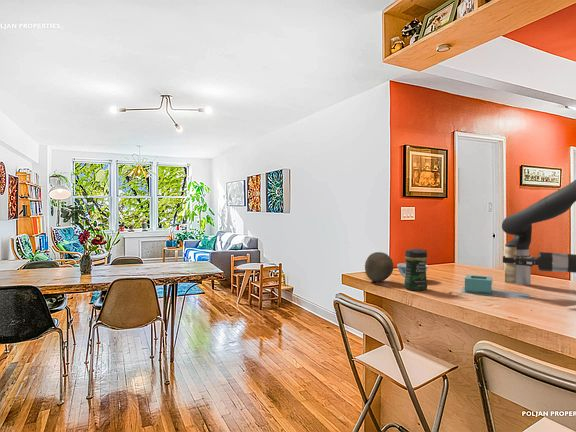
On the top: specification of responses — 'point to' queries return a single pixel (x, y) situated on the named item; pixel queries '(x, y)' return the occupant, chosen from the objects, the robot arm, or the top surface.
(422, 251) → the coffee jar
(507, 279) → the dowel
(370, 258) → the dark grey ball
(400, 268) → the chinaware
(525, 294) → the board
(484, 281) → the teal open box
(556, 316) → the top surface
